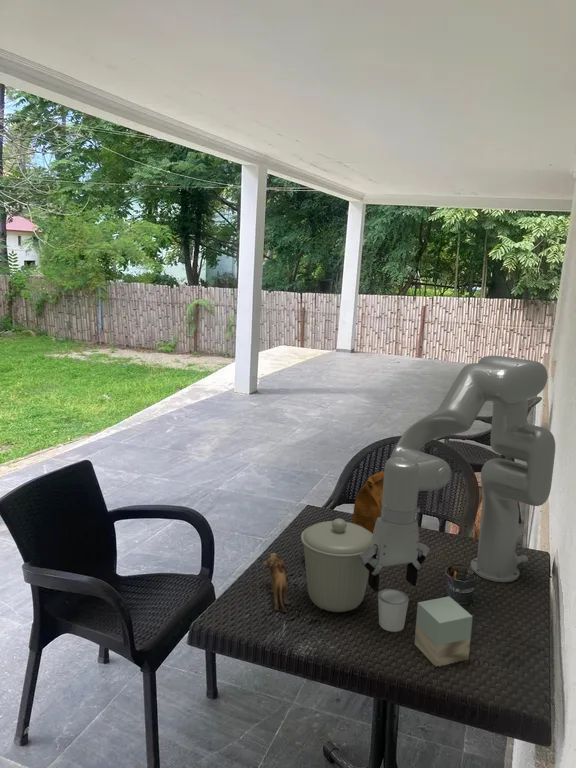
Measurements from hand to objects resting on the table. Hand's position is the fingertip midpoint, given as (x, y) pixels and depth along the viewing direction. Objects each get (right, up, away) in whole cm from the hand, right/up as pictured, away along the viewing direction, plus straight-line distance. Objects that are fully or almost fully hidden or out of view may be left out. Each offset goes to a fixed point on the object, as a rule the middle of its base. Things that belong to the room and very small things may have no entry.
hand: (392, 585), depth 130 cm
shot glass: (0, -10, +2) cm, 10 cm away
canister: (-12, -8, +11) cm, 18 cm away
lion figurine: (-26, -7, +12) cm, 30 cm away
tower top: (+9, -7, -8) cm, 14 cm away
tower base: (+9, -12, -7) cm, 16 cm away
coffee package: (+1, -3, +41) cm, 42 cm away
